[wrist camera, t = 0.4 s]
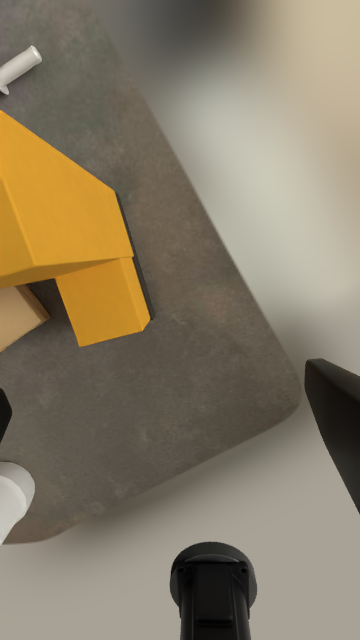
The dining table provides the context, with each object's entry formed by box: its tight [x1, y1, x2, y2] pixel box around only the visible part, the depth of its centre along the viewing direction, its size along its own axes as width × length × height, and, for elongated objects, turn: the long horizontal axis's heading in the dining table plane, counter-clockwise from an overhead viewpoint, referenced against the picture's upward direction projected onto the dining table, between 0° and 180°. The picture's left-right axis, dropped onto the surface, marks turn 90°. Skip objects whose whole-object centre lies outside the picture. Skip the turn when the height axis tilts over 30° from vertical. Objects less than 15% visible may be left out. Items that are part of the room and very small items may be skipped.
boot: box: [0, 110, 155, 347], centre depth 15 cm, size 9×5×14 cm, turn 16°
